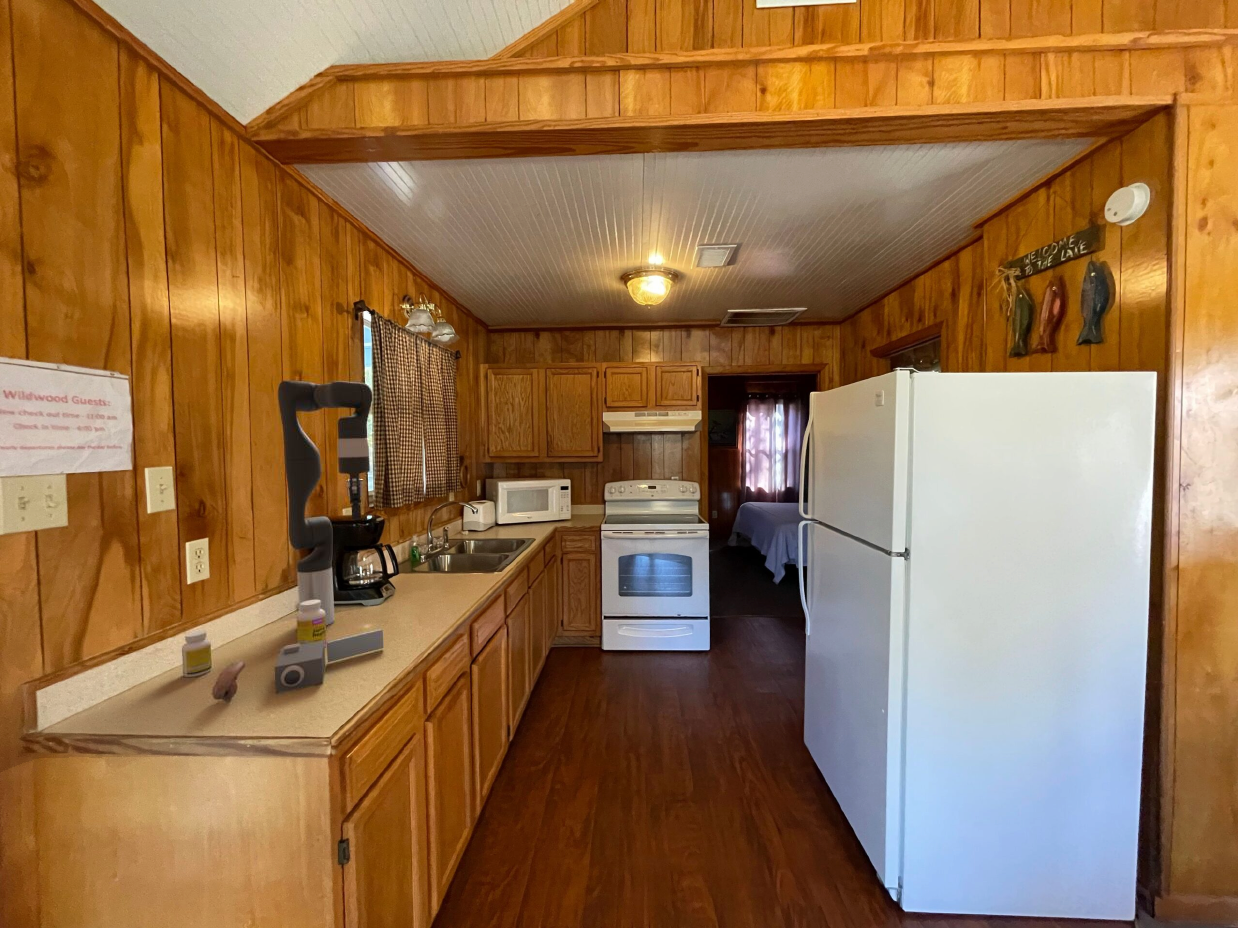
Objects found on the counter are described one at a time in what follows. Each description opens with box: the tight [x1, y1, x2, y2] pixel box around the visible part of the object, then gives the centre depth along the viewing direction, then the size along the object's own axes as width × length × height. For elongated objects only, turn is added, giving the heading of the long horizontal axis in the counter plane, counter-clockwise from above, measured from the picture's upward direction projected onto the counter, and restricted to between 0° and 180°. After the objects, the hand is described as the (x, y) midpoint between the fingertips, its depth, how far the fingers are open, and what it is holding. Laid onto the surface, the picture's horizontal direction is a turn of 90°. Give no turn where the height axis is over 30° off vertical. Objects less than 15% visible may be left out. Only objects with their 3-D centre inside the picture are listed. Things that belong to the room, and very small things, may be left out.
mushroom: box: [211, 660, 246, 704], centre depth 108 cm, size 8×6×8 cm
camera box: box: [274, 641, 326, 694], centre depth 117 cm, size 14×9×7 cm, turn 28°
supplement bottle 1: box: [181, 630, 213, 678], centre depth 122 cm, size 5×5×10 cm
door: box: [326, 628, 384, 663], centre depth 130 cm, size 13×1×5 cm, turn 130°
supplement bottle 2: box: [296, 600, 327, 647], centre depth 135 cm, size 7×7×13 cm
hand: (356, 518), depth 136 cm, fingers closed
